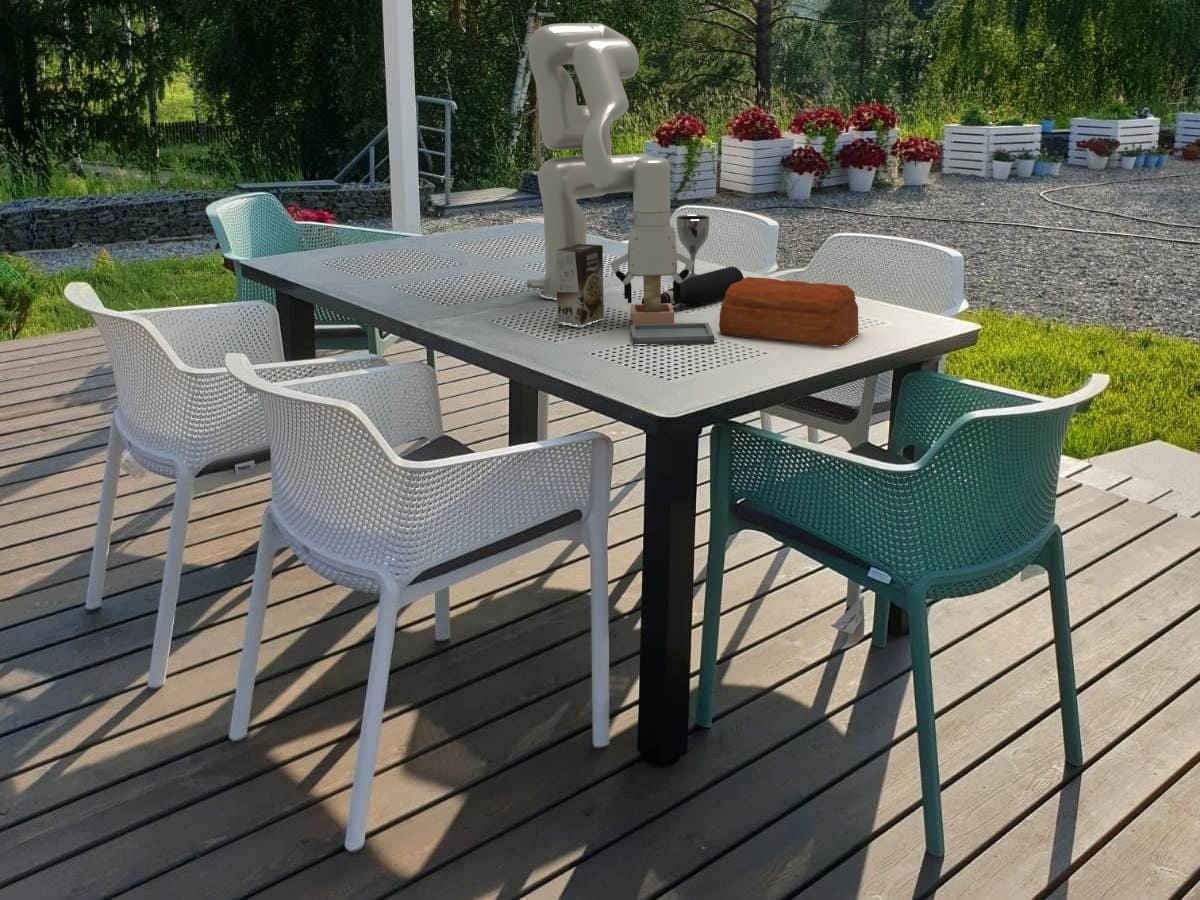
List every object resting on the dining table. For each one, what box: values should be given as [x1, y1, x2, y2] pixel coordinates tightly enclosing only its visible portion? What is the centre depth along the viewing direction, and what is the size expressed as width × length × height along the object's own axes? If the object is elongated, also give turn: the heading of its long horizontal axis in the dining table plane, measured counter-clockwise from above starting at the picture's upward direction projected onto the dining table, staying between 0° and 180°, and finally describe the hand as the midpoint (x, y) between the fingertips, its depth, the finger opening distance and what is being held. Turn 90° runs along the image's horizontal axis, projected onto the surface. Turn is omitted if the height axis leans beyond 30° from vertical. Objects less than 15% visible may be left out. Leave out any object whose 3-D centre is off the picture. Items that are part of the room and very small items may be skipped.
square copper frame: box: [630, 303, 675, 325], centre depth 260 cm, size 9×9×3 cm
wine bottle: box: [641, 266, 745, 307], centre depth 275 cm, size 6×6×30 cm
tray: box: [629, 322, 715, 346], centre depth 248 cm, size 16×11×2 cm
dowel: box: [642, 276, 662, 312], centre depth 259 cm, size 4×4×11 cm
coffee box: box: [556, 243, 605, 325], centre depth 260 cm, size 9×6×16 cm
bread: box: [718, 276, 859, 347], centre depth 249 cm, size 16×27×11 cm, turn 60°
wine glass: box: [676, 214, 710, 282], centre depth 302 cm, size 8×8×15 cm
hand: (652, 301), depth 259 cm, fingers open, 9 cm apart
